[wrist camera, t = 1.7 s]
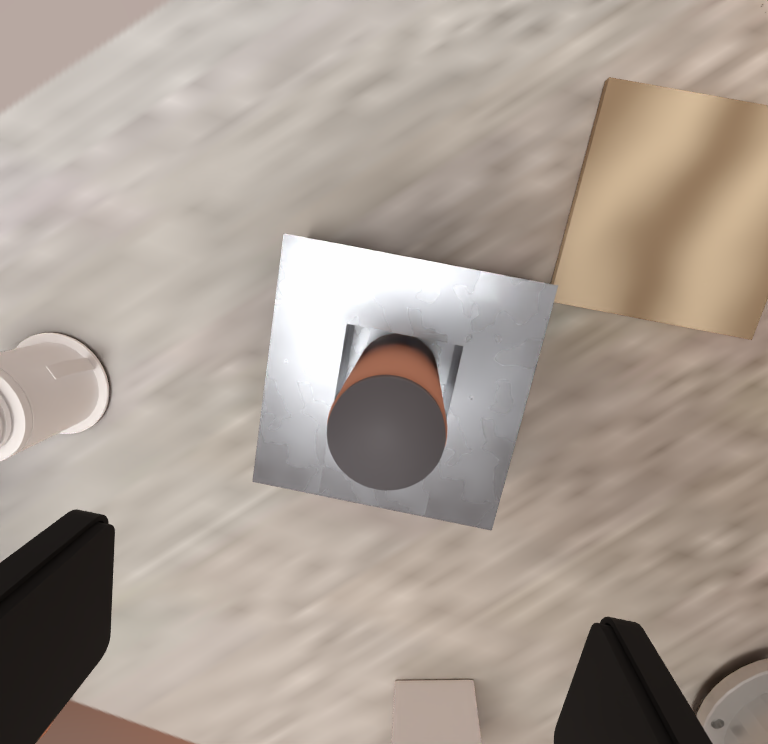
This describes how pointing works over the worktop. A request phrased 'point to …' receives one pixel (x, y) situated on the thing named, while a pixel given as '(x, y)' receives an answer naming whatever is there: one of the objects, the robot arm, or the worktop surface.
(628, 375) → the worktop surface
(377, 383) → the orange grey-topped cylinder
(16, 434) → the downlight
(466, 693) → the milk
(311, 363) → the bore housing
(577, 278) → the plate
